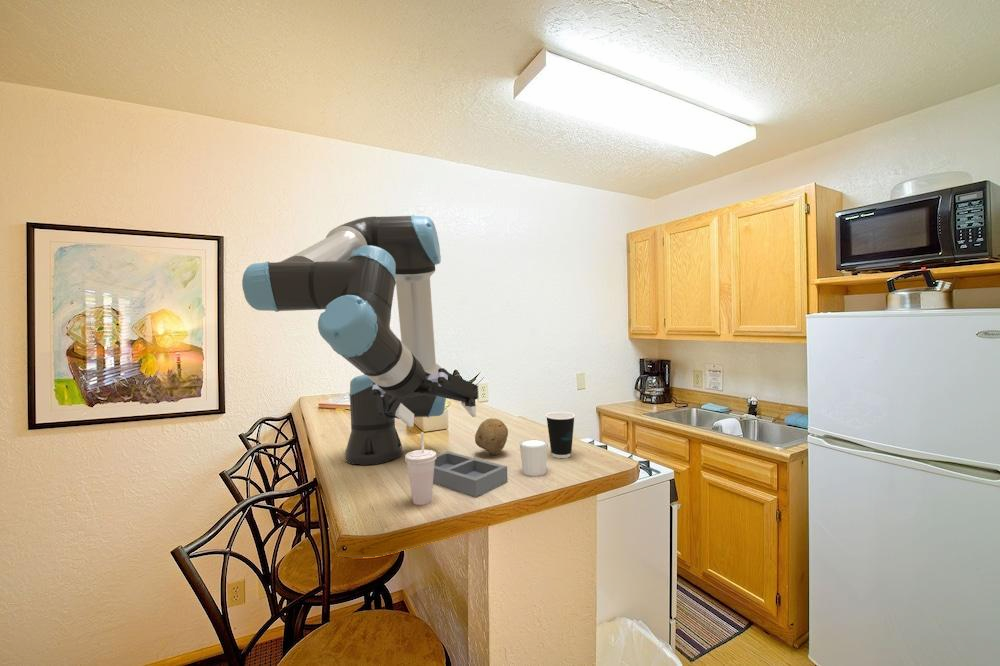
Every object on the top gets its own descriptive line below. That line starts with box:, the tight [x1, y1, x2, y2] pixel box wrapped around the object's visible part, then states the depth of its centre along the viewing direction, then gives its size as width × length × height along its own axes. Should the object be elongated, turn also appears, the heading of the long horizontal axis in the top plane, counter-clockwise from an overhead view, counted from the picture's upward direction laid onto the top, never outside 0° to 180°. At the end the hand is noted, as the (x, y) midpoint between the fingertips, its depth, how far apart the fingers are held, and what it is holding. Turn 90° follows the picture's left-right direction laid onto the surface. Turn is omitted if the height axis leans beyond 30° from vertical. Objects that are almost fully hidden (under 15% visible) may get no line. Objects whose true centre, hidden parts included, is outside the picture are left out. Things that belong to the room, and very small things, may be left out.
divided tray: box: [433, 451, 508, 498], centre depth 95 cm, size 20×10×4 cm, turn 50°
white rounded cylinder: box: [519, 439, 549, 477], centre depth 99 cm, size 7×7×7 cm
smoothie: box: [404, 431, 437, 506], centre depth 84 cm, size 6×6×14 cm
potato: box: [474, 417, 509, 456], centre depth 113 cm, size 9×9×10 cm
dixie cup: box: [545, 411, 576, 459], centre depth 110 cm, size 8×8×11 cm
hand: (442, 415), depth 84 cm, fingers open, 13 cm apart
